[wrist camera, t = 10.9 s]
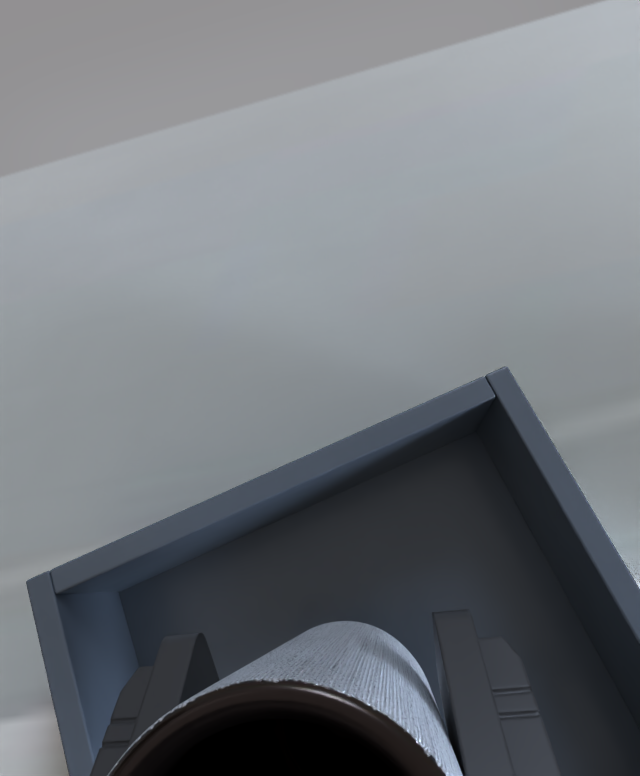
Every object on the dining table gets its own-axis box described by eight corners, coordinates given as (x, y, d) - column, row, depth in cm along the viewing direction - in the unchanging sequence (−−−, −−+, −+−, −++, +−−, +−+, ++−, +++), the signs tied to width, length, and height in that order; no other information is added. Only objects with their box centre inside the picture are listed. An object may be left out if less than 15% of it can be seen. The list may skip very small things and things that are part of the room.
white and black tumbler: (237, 763, 15) (-39, 1089, 5) (301, 593, 16) (169, 610, 7) (402, 848, 14) (425, 1436, 4) (457, 660, 15) (573, 795, 6)
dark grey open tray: (483, 407, 23) (507, 364, 18) (731, 849, 17) (851, 943, 13) (98, 580, 22) (24, 580, 18) (234, 1088, 17) (178, 1272, 12)
